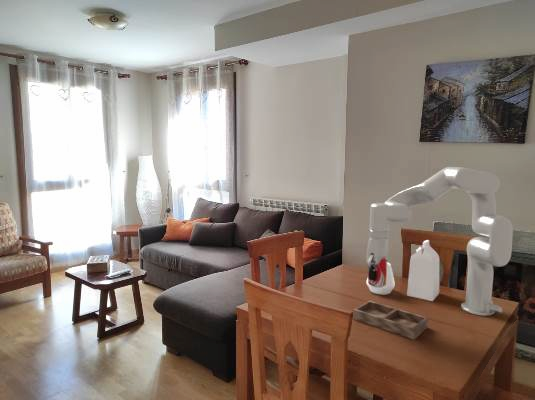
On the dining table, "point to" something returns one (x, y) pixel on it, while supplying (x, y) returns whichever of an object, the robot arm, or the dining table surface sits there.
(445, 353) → the dining table surface
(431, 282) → the milk
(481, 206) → the robot arm
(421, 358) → the dining table surface
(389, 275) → the white faceted vase
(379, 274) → the soda can
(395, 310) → the caddy
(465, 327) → the dining table surface
